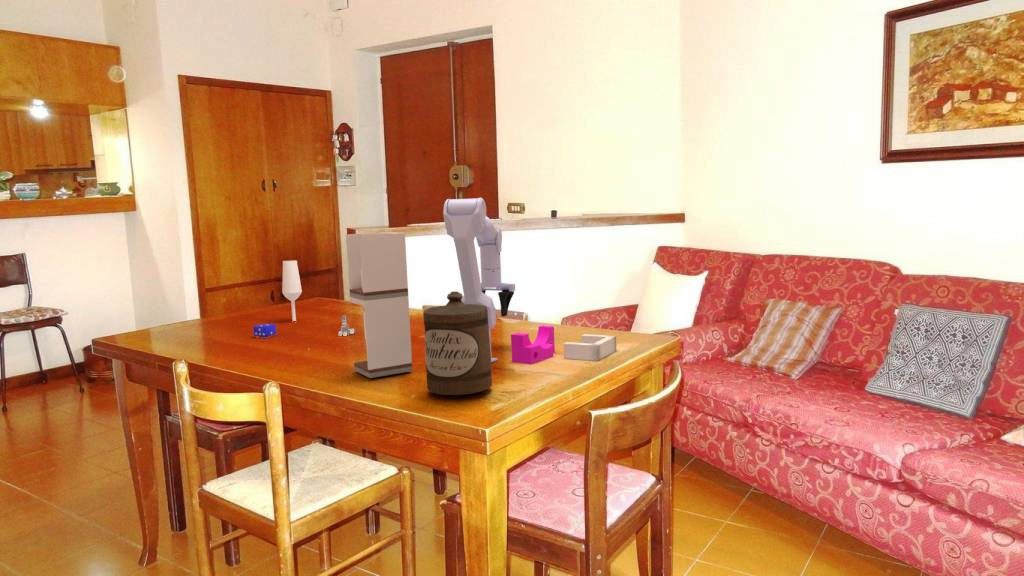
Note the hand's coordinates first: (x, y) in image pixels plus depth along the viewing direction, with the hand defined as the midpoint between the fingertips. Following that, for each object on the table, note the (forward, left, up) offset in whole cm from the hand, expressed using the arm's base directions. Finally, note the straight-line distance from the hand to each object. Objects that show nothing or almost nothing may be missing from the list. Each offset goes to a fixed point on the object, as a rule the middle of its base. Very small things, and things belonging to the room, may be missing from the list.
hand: (492, 315), depth 203 cm
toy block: (-8, -18, -10) cm, 22 cm away
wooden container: (-42, -15, -10) cm, 46 cm away
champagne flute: (+8, +87, -10) cm, 88 cm away
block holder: (0, -30, -9) cm, 31 cm away
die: (-14, +78, -10) cm, 80 cm away
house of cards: (-2, +52, -10) cm, 53 cm away
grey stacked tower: (-35, +13, -10) cm, 38 cm away
